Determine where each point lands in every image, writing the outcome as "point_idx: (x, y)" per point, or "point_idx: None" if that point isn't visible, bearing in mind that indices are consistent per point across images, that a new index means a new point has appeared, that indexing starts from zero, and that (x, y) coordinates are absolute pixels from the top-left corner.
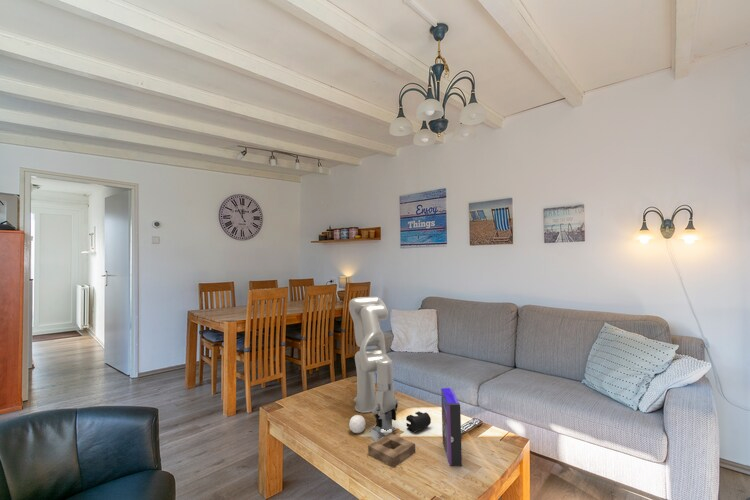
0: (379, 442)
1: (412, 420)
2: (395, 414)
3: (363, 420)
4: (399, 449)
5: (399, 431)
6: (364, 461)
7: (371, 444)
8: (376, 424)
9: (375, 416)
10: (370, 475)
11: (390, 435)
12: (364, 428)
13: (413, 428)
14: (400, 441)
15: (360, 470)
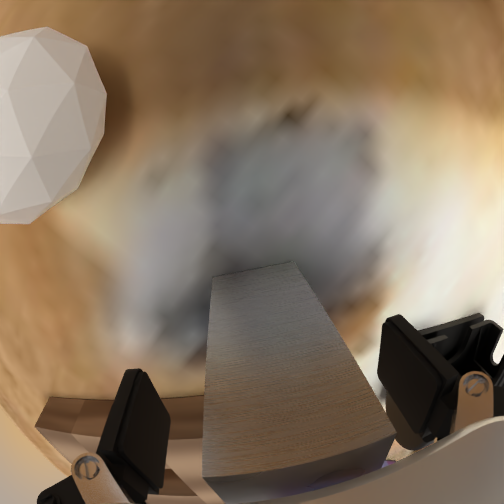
0: (95, 450)
1: (416, 442)
2: (411, 417)
3: (13, 196)
4: (166, 501)
5: (354, 336)
6: (32, 411)
7: (50, 432)
8: (124, 380)
9: (69, 493)
10: (47, 451)
11: (194, 451)
12: (73, 190)
13: (393, 411)
14: (208, 488)
15: (20, 424)
